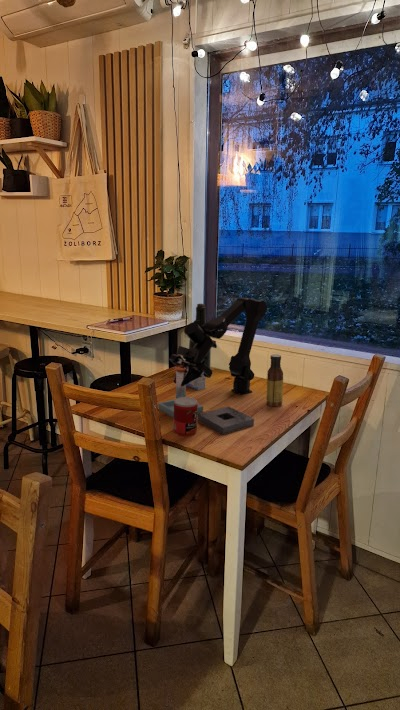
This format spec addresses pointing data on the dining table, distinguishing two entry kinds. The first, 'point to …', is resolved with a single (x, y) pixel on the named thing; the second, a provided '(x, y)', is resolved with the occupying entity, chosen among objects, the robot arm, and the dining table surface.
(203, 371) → the robot arm
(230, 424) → the block
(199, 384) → the medicine box
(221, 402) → the dining table surface
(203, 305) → the wine bottle
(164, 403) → the tray
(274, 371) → the sauce bottle
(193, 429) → the canned food
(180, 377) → the hitch pin
